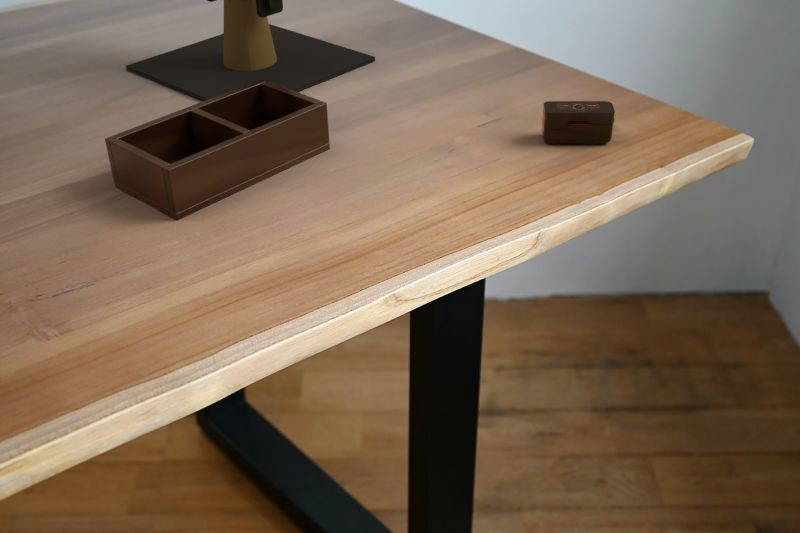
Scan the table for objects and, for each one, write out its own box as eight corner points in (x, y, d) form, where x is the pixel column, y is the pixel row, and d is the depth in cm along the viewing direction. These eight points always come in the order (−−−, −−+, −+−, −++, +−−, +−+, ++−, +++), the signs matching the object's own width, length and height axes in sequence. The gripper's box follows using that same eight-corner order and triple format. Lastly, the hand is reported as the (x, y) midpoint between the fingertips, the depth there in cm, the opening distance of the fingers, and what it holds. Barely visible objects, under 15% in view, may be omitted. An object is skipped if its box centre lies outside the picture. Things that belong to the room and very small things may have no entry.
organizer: (114, 186, 79) (104, 138, 77) (266, 122, 90) (261, 78, 88) (177, 220, 74) (167, 170, 72) (330, 148, 85) (327, 102, 82)
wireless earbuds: (620, 145, 84) (624, 113, 82) (543, 145, 84) (545, 113, 83) (613, 124, 88) (616, 93, 86) (538, 124, 88) (541, 93, 87)
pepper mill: (232, 51, 106) (220, -46, 100) (282, 52, 105) (273, -45, 99) (216, 70, 101) (202, -31, 95) (269, 71, 100) (258, -30, 94)
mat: (126, 69, 103) (125, 65, 103) (261, 25, 115) (260, 21, 115) (238, 115, 92) (238, 111, 91) (375, 60, 104) (375, 56, 104)
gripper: (141, -172, 93) (168, -1, 102) (251, -156, 83) (270, 31, 92) (200, -180, 97) (221, -16, 107) (311, -166, 87) (323, 13, 97)
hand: (244, 5), depth 100 cm, fingers open, 8 cm apart
